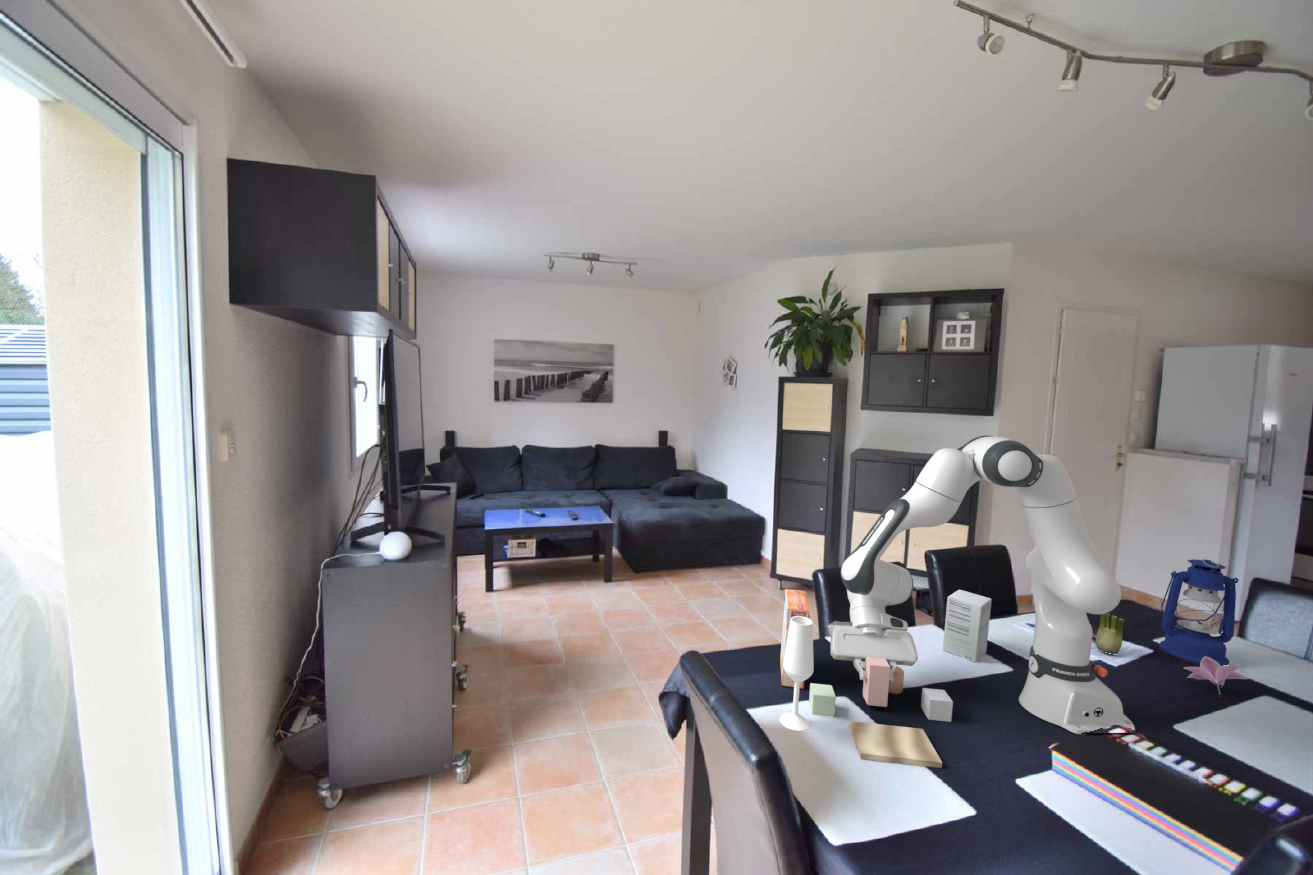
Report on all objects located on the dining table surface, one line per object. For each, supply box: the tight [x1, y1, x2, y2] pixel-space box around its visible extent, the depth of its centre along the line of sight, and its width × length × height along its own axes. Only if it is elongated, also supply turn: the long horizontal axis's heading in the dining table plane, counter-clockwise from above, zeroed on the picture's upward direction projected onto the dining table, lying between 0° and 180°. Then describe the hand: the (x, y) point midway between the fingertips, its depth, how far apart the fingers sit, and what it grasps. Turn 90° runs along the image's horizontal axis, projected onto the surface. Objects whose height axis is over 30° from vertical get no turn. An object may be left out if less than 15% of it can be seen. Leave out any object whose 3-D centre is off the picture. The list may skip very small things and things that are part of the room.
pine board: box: [847, 720, 943, 769], centre depth 117 cm, size 16×11×1 cm
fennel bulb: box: [1095, 613, 1125, 655], centre depth 164 cm, size 6×5×12 cm
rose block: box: [862, 657, 890, 708], centre depth 132 cm, size 4×4×10 cm
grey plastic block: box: [920, 687, 954, 723], centre depth 129 cm, size 5×5×5 cm
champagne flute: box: [779, 616, 815, 732], centre depth 123 cm, size 7×7×24 cm
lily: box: [1182, 656, 1249, 696], centre depth 145 cm, size 12×12×10 cm
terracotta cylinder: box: [888, 665, 905, 695], centre depth 140 cm, size 5×5×5 cm
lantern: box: [1159, 559, 1239, 666], centre depth 163 cm, size 17×15×30 cm
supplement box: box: [942, 589, 992, 663], centre depth 161 cm, size 10×9×17 cm
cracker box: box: [779, 588, 811, 690], centre depth 144 cm, size 14×6×21 cm, turn 168°
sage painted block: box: [808, 682, 837, 718], centre depth 129 cm, size 5×5×5 cm
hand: (876, 680), depth 131 cm, fingers closed on rose block, 4 cm apart
